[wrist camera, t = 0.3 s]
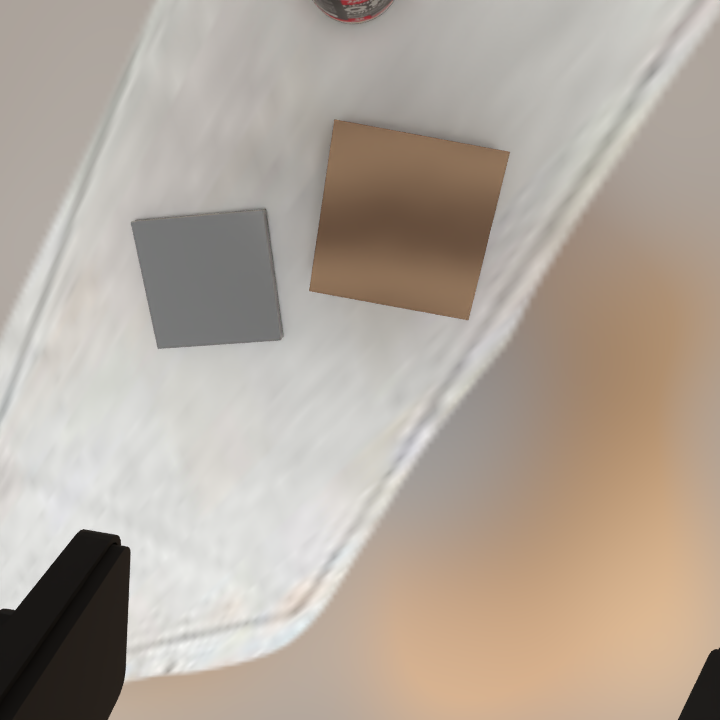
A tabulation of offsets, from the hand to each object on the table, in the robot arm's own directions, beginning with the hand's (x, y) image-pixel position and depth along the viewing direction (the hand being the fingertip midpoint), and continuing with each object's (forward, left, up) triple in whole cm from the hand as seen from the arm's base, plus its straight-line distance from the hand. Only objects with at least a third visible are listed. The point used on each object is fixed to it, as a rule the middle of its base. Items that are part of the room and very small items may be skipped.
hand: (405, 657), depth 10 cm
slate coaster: (+3, -11, -30) cm, 32 cm away
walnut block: (-3, 0, -30) cm, 30 cm away
